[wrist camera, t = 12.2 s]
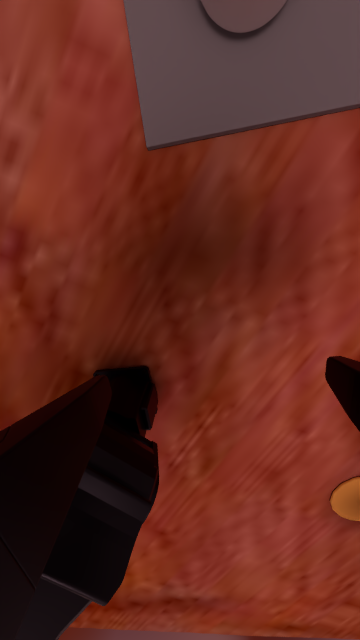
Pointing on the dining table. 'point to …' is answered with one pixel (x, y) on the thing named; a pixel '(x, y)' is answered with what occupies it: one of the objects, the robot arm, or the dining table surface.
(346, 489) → the white and tan goblet
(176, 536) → the dining table surface
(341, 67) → the rubber mat
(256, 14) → the beverage can
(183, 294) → the dining table surface
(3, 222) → the dining table surface
